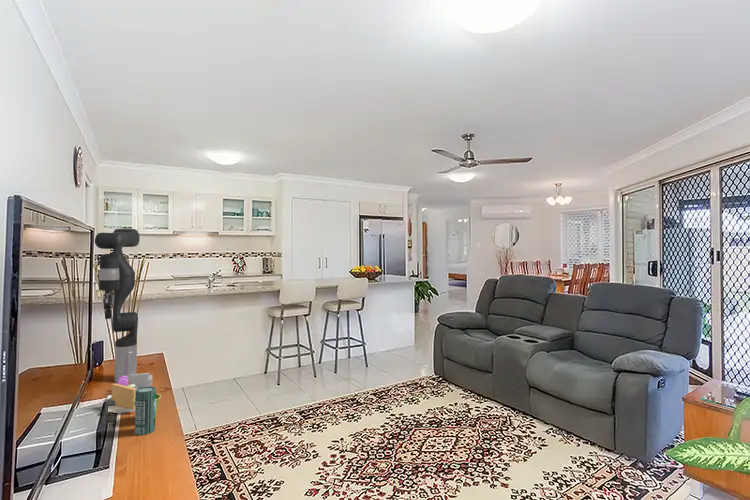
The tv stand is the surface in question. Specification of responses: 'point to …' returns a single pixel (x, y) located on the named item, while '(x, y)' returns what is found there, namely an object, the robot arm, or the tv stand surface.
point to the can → (145, 410)
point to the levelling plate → (118, 408)
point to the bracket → (123, 380)
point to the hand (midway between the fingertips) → (108, 318)
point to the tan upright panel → (122, 396)
